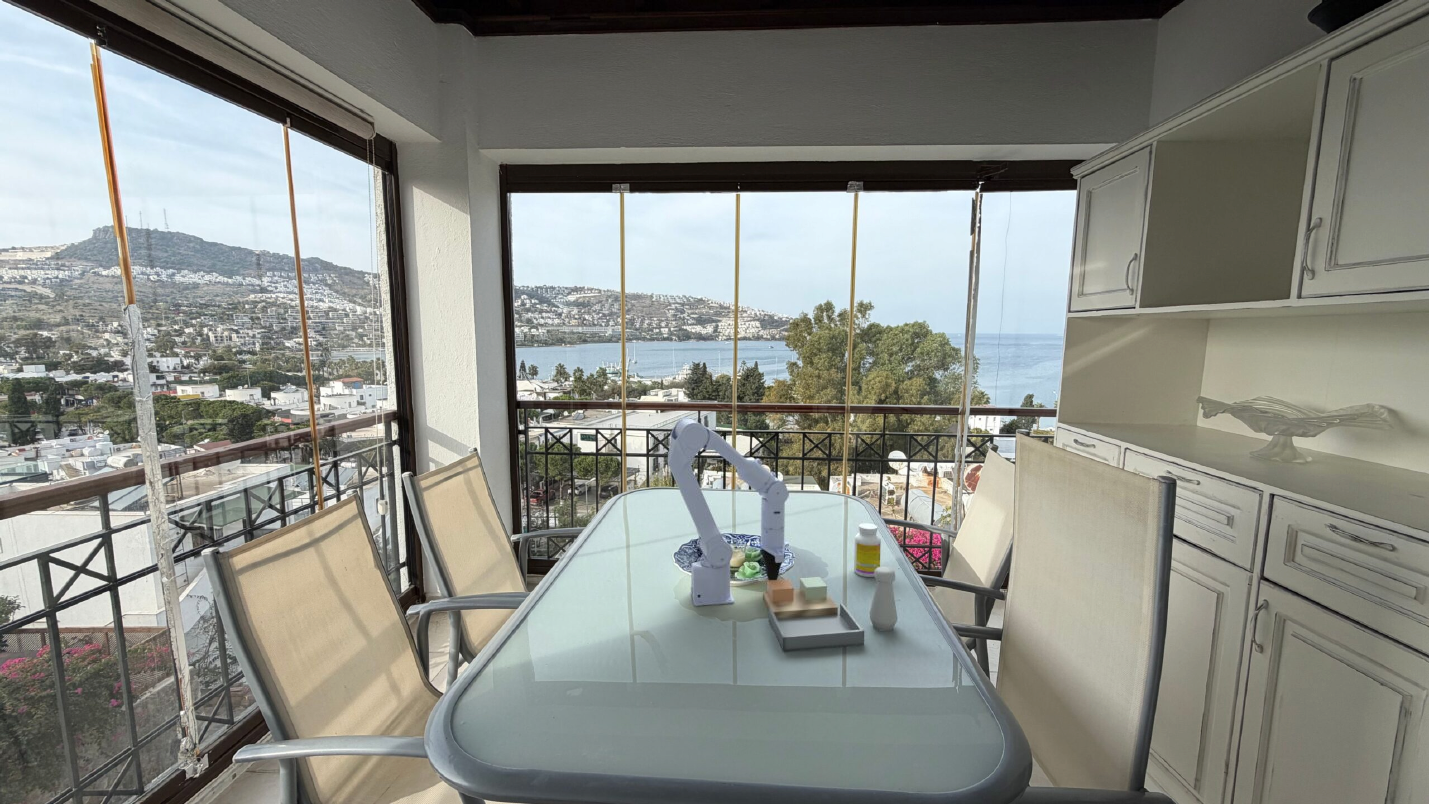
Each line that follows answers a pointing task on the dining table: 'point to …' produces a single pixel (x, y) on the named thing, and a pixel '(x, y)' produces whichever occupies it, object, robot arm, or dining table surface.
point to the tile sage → (813, 588)
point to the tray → (817, 631)
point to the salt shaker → (883, 600)
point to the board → (800, 606)
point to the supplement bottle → (867, 550)
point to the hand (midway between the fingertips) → (772, 579)
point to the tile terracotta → (780, 590)
